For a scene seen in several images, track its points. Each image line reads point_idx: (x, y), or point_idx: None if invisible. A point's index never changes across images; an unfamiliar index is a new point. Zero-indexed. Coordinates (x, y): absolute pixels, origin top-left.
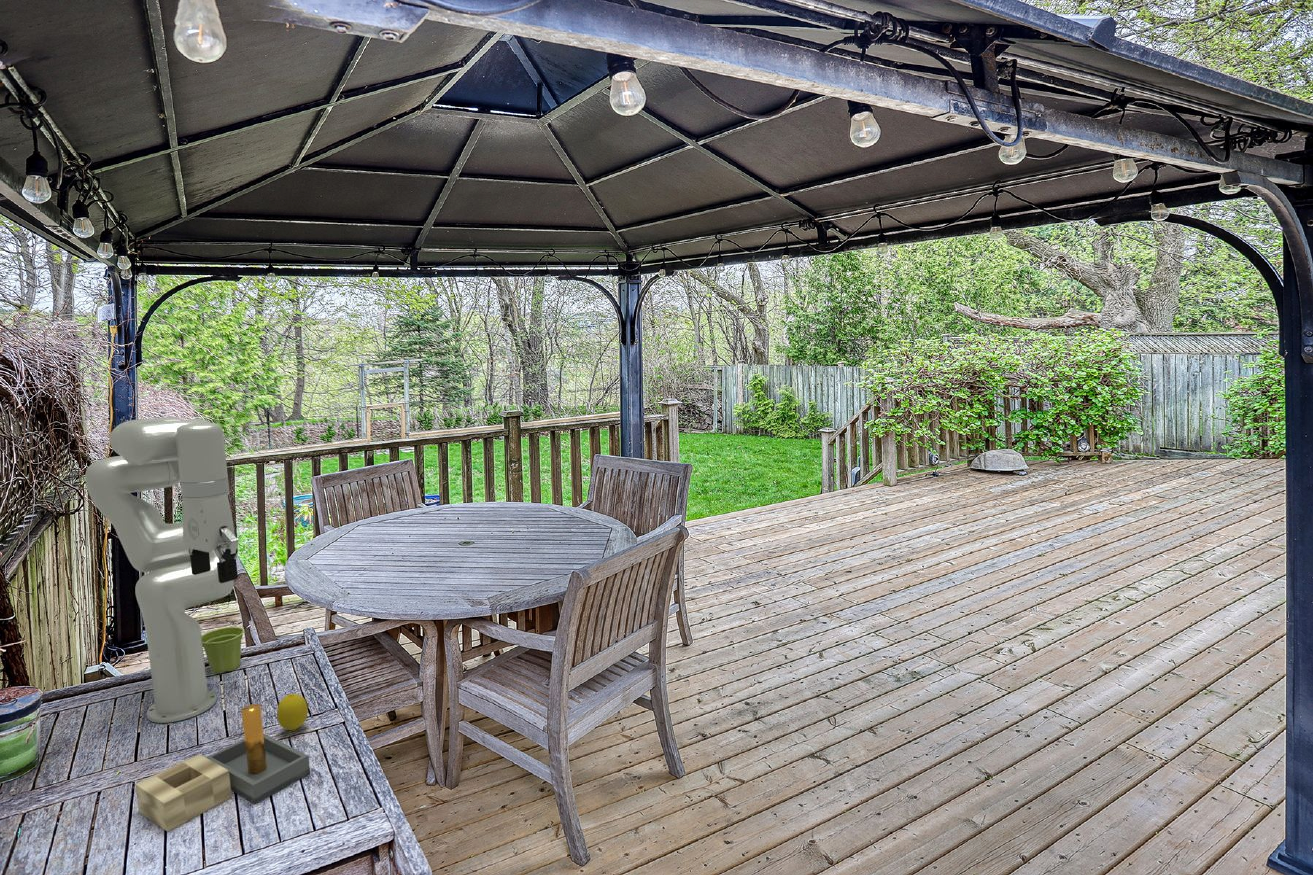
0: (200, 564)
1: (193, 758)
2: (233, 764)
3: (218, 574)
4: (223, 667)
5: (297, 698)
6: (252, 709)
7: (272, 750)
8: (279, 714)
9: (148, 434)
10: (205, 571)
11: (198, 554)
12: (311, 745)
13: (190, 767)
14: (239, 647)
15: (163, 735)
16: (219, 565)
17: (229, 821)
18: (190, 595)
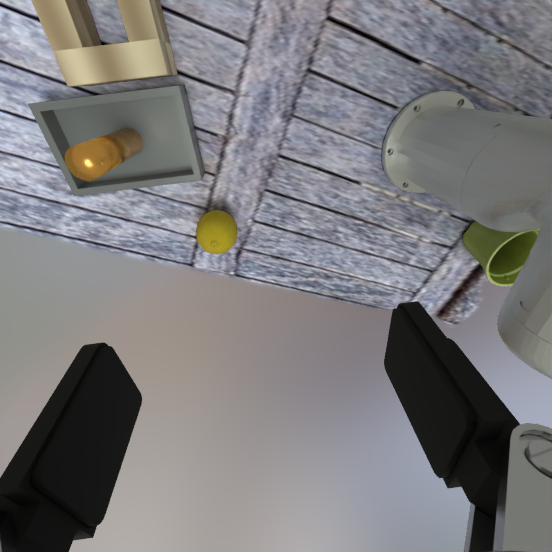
0: (411, 374)
1: (157, 59)
2: (171, 123)
3: (68, 385)
4: (473, 229)
5: (205, 246)
6: (74, 163)
7: (159, 175)
8: (211, 215)
9: None
10: (387, 349)
11: (455, 446)
12: (161, 218)
13: (128, 42)
14: (479, 262)
15: (371, 88)
16: (20, 462)
17: (17, 53)
18: (548, 254)
